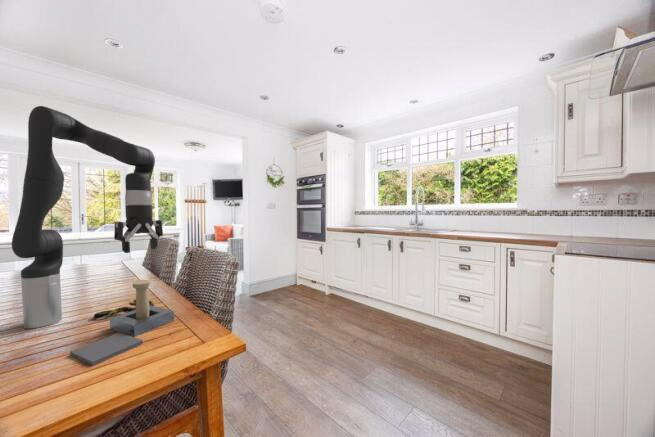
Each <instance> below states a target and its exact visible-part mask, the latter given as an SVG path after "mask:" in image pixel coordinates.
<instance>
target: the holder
mask: <svg viewBox="0 0 655 437" xmlns="http://www.w3.org/2000/svg"><path fill="white" fill-rule="evenodd" d="M174 321H175V311H174V310H171V309H167V308H162V307H158V306H151V305H149V317H147V318H144V319H141V320H137V318H136V310H134V311H131V312H124V313H122V314H119V315H116V316H113V317H110V318H109V329H110V330H114V331H117V332H118V333H123V334H126V335H129V336H132V337H134V338H136V337H137V336H140V335H142V334H144V333H147V332H149V331H151V330H154V329H157V328H160V327H162V326H164V325H167V324H169V323H171V322H174Z"/></svg>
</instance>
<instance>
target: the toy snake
mask: <svg viewBox="0 0 655 437" xmlns="http://www.w3.org/2000/svg"><path fill="white" fill-rule="evenodd" d="M128 305H130V306H133V307H130V306H123V307H122V306H121V307H118V308H115V309H112V310H110V309H109V310H103V311H99V312H96V313H95V314H94V315H93V318H94V319H101V318H107V317H111V316H114V315H116V314H120V313H123V312H124V313H127V312H131V311H134V310H136V298H135V299H133V301H131V302H129V303H128ZM149 305H151V306H154V305H155V304H154V302H153V301H151V300H149Z"/></svg>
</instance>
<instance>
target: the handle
mask: <svg viewBox="0 0 655 437" xmlns="http://www.w3.org/2000/svg"><path fill="white" fill-rule="evenodd" d="M151 283H152V282H151V280H150V279H138V280H135V281H133V282H132V287H133V289H135V293H136V294H135V299H136V306H135V308H136V318H137V320H141V319H144V318H147V317H149V301H150V299H149V290H148V288H149V287H150V286H151V285H152V284H151Z"/></svg>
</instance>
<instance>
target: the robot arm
mask: <svg viewBox="0 0 655 437" xmlns="http://www.w3.org/2000/svg"><path fill="white" fill-rule="evenodd" d="M27 124H28V125H27V126H28V127H27V133H28V134H27V135H28V136H27V138H28V141H27V142H28V143H27V144H28V147H27V148H28V149H27V160H26V167H25V171H24V172H25V173H24V178H23V184H22V185H23V186H22V196H21V203H20V208H19V214H18V218H17V221H16V224H15V226H14V232H13V234H12V235H13V236H12V238H11V250H12V252H13V254H14V255H15V256H16V257H18V258H20V259H30V258H31V259H32V258H34V259H33V261H32V262H31V263H30V264H29V265H27V266H25V267H24V268H23V269H21V271H20V277H21V278H20V281H21V299H22V302H21V303H22V323H23V328H24V329H37V328H42V327H47V326H50V325H53V324H57V323H58V322H60V321H62V320H63V313H62V310H63V309H62V288H61V267H62V265H63V261H64V260H63V256H64V242H63V238H62V236H61V234H60V233H59V232H58V231H56V230H54V229H43V225H44V221H45V219H46V217H47V215H48V214H49V212H50V211H51V210H52V209H53V208H54V207H55V205H56V204H58V202H59V200H60V199H61V197H62V195H63V192H64V185H65V176H64V172H63V169H62V168H61V165H59V161H57V159H56V157H55V155H54V151H53V138H54V139H58V140H65V141H70V142H76V143H80V144H83V145H85V146H88V147H89V148H91V149H93V151H96V152H99V153H101V154H103V155H104V156H108V157H111V158H113V159H115V160H116V161H118V162H120V163H123V164H125V165H127V166H133V167H134V171H133V172H130V173H127V174H126V175H125V180H124V182H125V183H124V184H125V196H124V205H125V206H124V207H125V219H126V220H125V221H115V222H114V231H113V232H114V234H113V235H114V236H113V237H114V240H115V241H119V242H121V250H122V252H124V253H125V254H129V253H131V243H130V239H131V238H132V237H133V236H135V234H136V235H137V234H138V235H139V234H147V235H148V236H149V240H150V249H151V250H156V249H157V248H158V240H159V238H160V237H164V231H163V230H164V229H163V222H162V220H161V219H155V220H153V212H154V211H153V196H152V187H151V186H152V184H151V179H152V175H153V172H154V168H155V165H156V164H155V163H156V160H155V159H156V158H155V154H154V153H153V151H152V150H150V149H149V148H147V147H143V146H141V145H136V144H134V143H131V142H129V141H125V140H123V139H122V138H119V137H118V136H114V135H112V134H110V133H106V132H105V131H100V130H98V129H94V128H92V127H90V126H88V125H86V124H84V123H82V122H81V121H79V120H77V119H75V118H74V117H72V116H70V115H69V114H67V113H64V112H61V111H59V110H56V109H53V108H50V107H47V106H44V105H38V106H35V107H34V108H33V109H31V111H30V113H29V116H28V123H27ZM153 226H154V229H153ZM125 228H127V229H126V230H125V232H124V229H125Z"/></svg>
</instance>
